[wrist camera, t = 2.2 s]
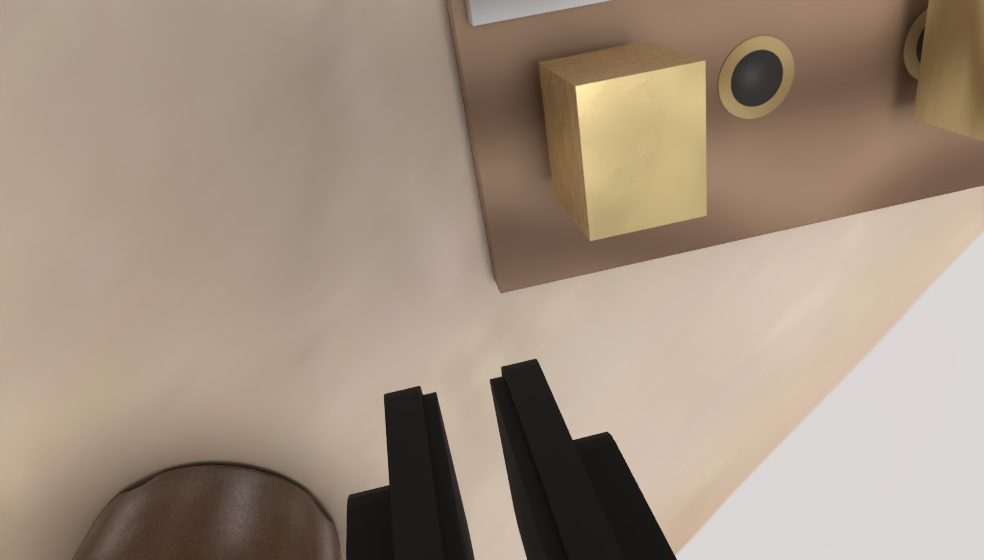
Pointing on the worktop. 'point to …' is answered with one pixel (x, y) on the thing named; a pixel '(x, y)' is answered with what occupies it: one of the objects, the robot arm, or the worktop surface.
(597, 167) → the sliding block
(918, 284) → the worktop surface
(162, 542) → the plant pot
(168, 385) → the worktop surface
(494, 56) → the wooden slider board
